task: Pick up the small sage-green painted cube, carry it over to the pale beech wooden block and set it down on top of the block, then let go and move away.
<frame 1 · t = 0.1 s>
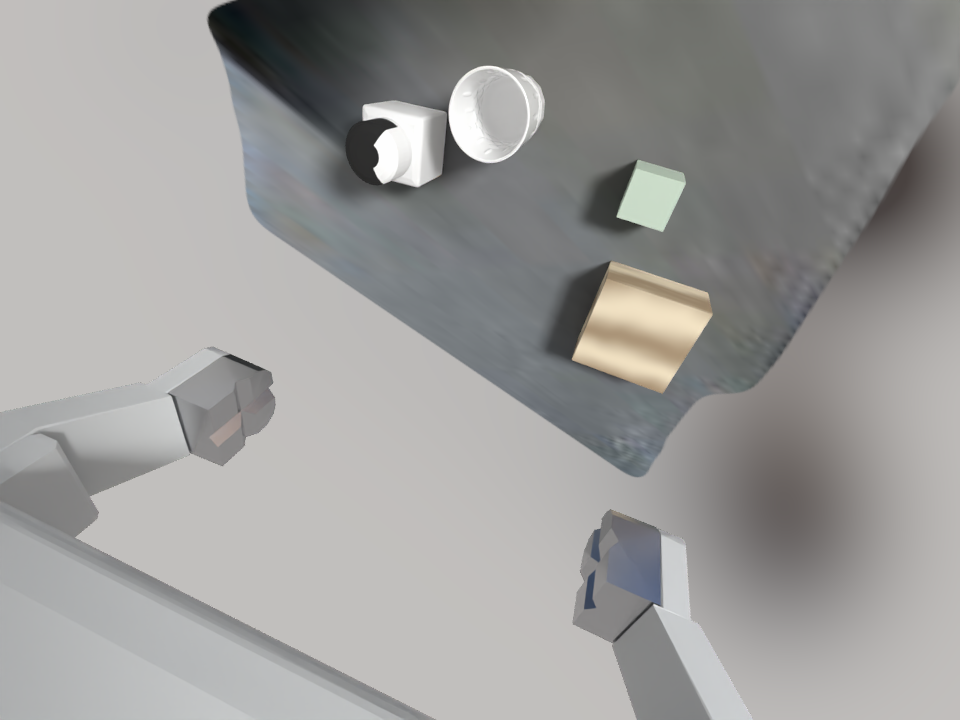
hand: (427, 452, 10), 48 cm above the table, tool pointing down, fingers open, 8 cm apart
sage cube: (650, 189, 49), on the table
white cup: (515, 107, 49), on the table
medicine bottle: (419, 138, 54), on the table
beech block: (637, 316, 57), on the table
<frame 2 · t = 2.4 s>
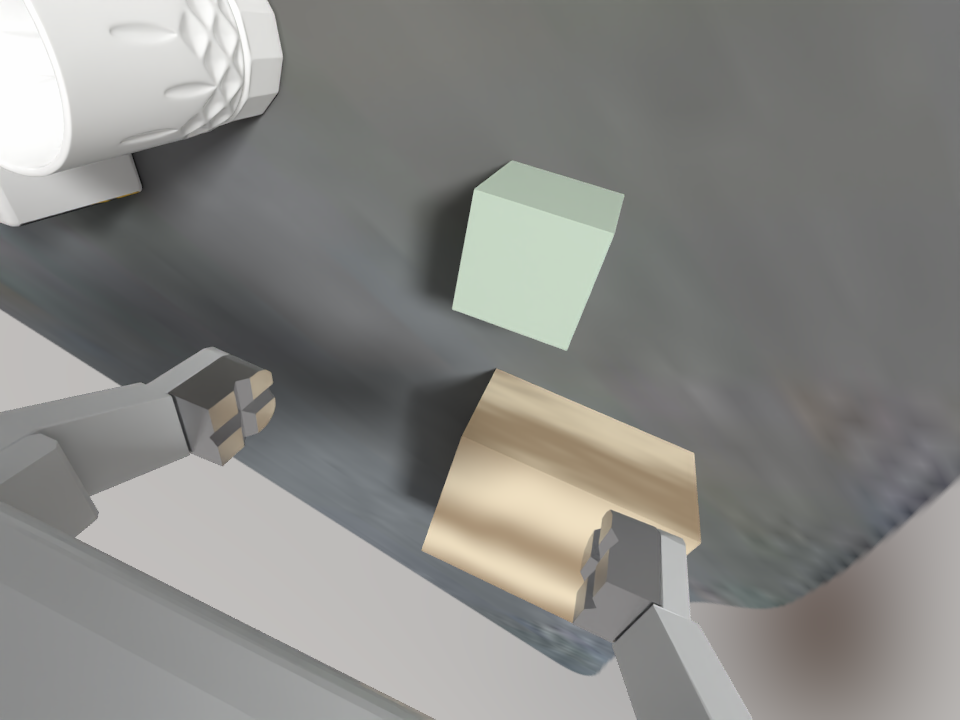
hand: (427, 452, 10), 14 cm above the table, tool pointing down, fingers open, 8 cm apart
sage cube: (550, 232, 20), on the table
white cup: (224, 34, 20), on the table
medicine bottle: (80, 114, 25), on the table
beech block: (556, 467, 29), on the table
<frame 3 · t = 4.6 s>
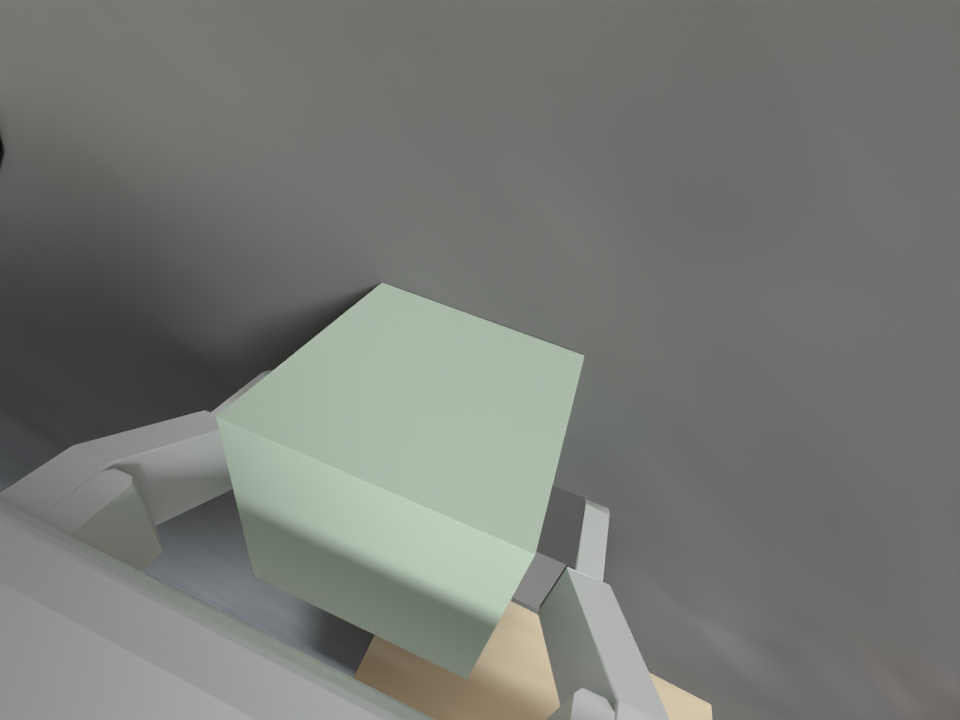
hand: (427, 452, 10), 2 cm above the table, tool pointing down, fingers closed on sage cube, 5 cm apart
sage cube: (460, 396, 12), on the table, touching gripper
beech block: (506, 666, 20), on the table
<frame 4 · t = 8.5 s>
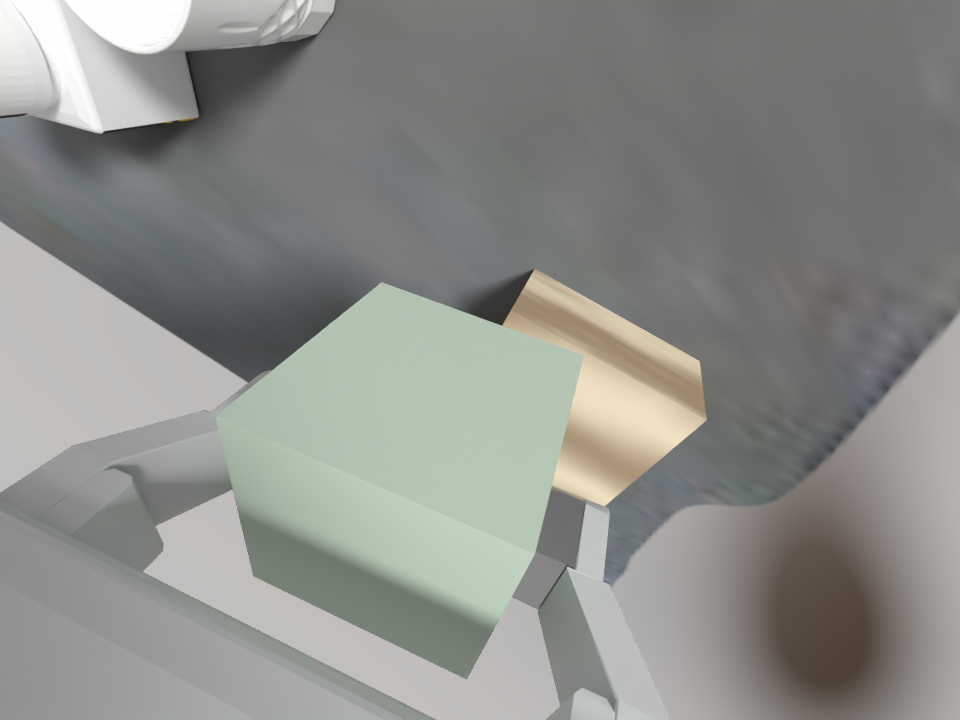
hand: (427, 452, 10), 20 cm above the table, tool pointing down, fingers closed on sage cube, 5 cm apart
sage cube: (460, 396, 12), point 18 cm above the table, touching gripper
medicine bottle: (146, 46, 28), on the table
beech block: (570, 374, 32), on the table
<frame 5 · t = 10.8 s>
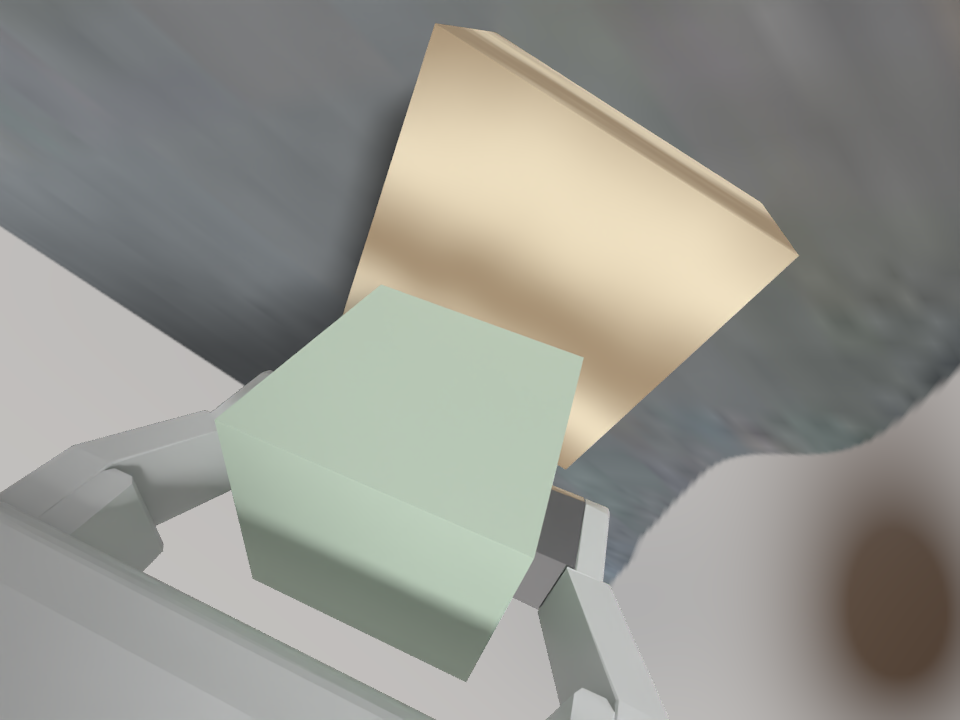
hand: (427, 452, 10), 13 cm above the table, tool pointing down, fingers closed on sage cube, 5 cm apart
sage cube: (460, 398, 12), point 11 cm above the table, touching gripper
beech block: (548, 245, 21), on the table
when the fingers open (10 cm above the table, at t = 12.8 s): sage cube drops 2 cm, resting on beech block.
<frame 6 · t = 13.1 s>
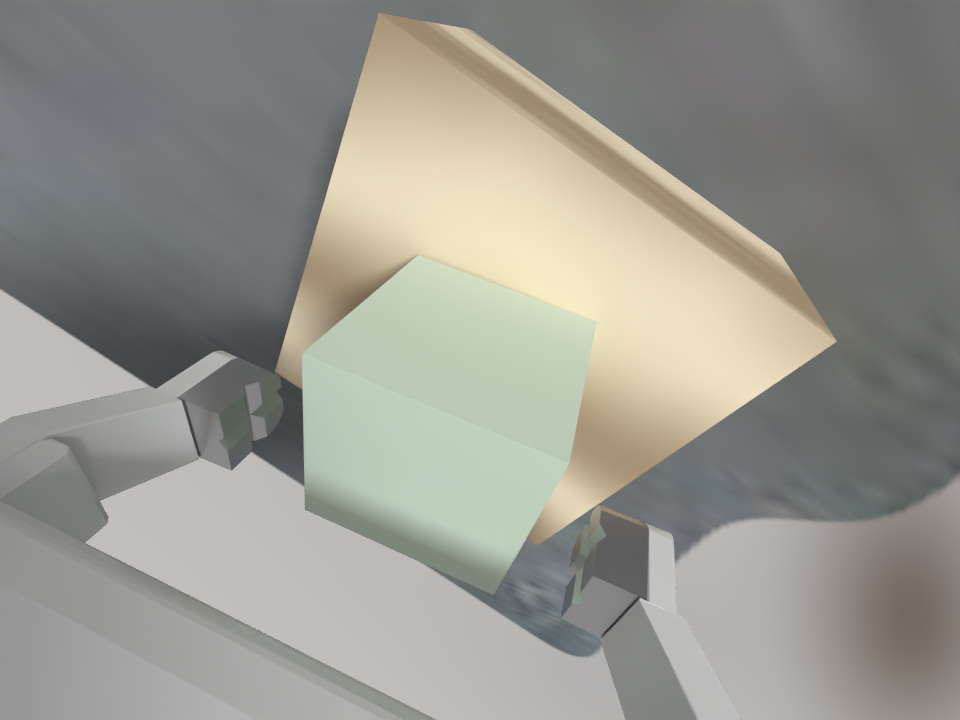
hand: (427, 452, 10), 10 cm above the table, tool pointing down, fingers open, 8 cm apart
sage cube: (483, 360, 13), point 6 cm above the table, touching beech block
beech block: (528, 281, 18), on the table, touching sage cube
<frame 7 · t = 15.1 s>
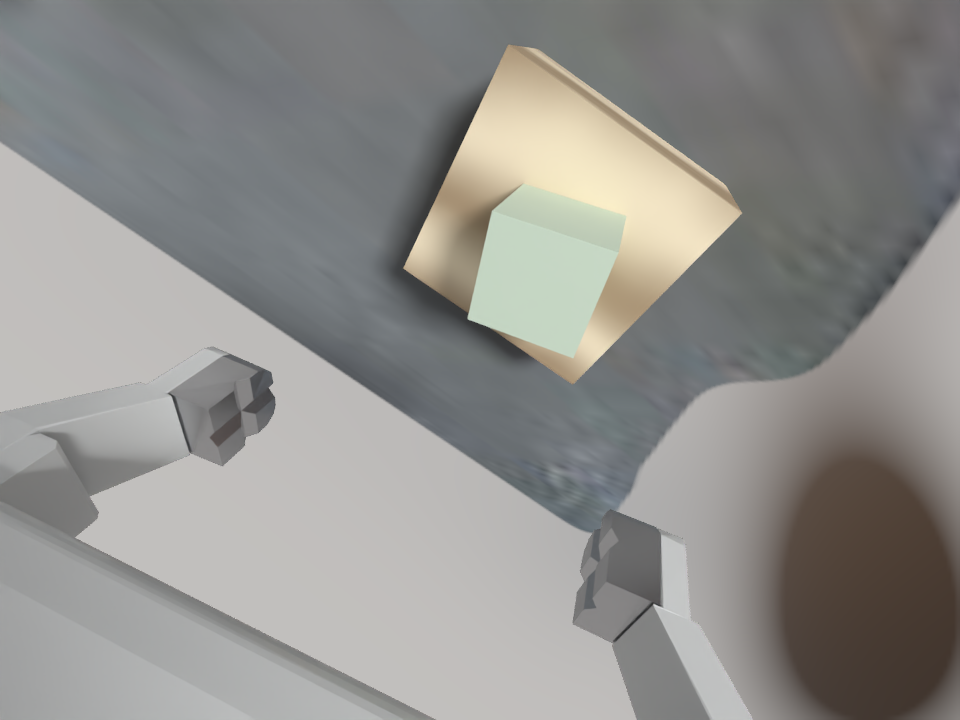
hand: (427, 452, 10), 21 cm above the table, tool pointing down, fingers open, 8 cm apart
sage cube: (557, 249, 22), point 6 cm above the table, touching beech block
beech block: (565, 213, 27), on the table, touching sage cube
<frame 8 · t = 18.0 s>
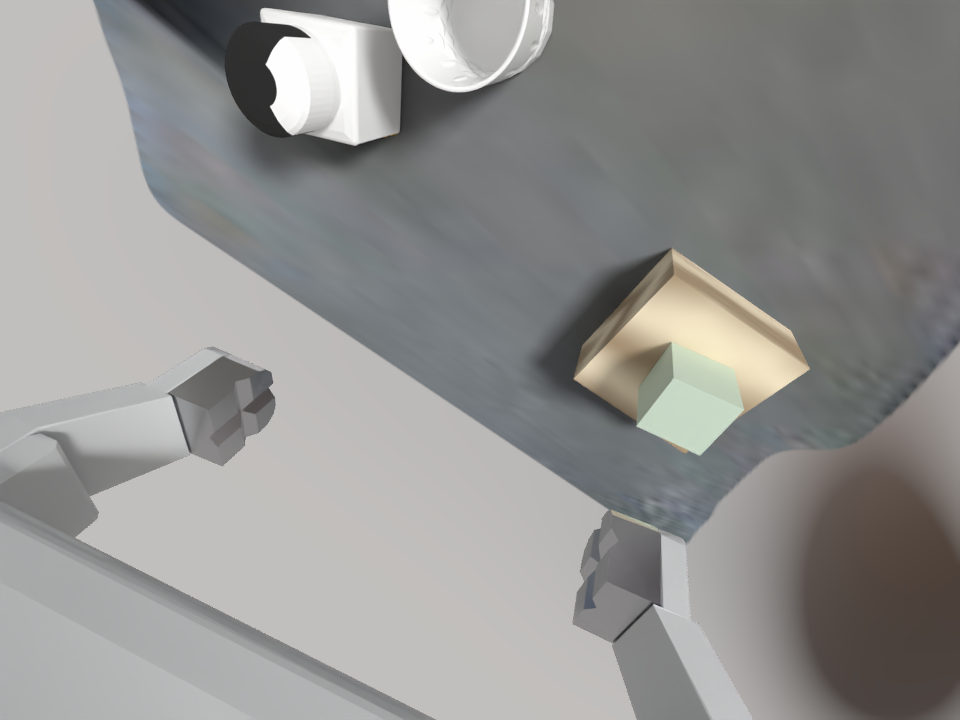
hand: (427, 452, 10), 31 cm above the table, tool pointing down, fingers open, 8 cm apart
sage cube: (683, 378, 35), point 6 cm above the table
white cup: (507, 18, 31), on the table
medicine bottle: (364, 77, 36), on the table
beech block: (677, 337, 40), on the table
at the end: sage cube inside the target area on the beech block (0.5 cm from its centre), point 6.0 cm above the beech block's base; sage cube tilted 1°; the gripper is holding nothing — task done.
